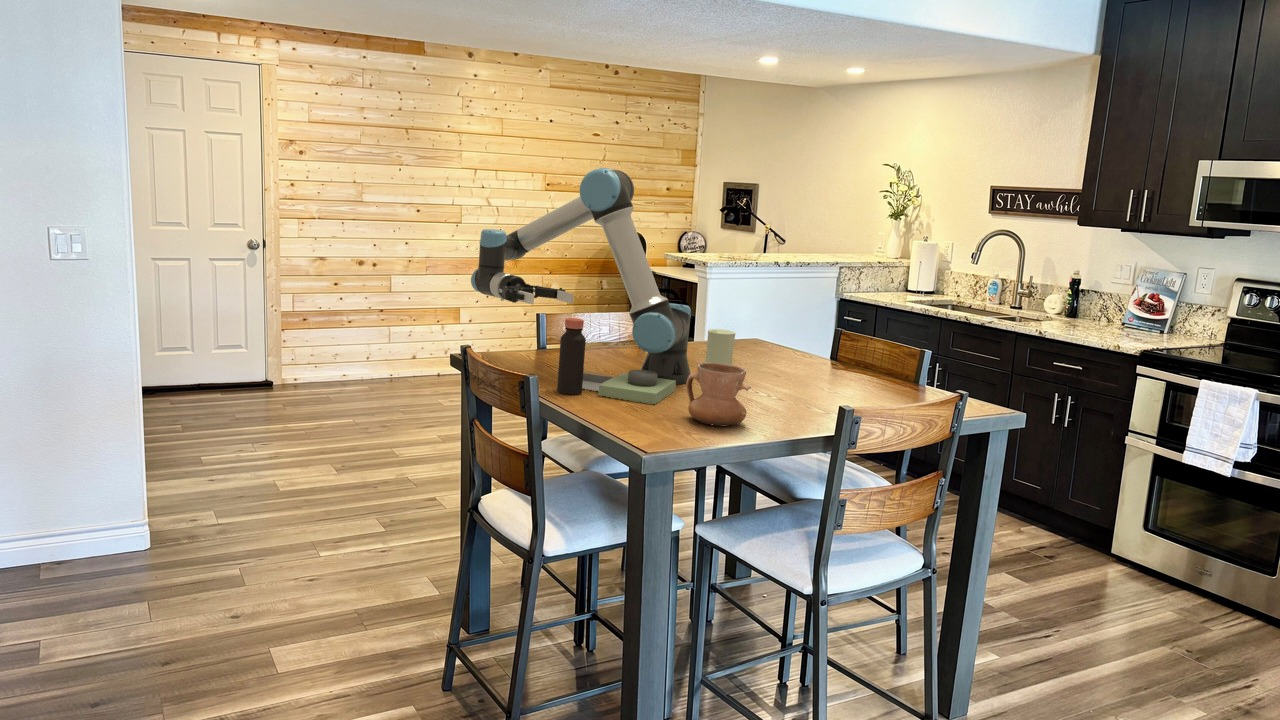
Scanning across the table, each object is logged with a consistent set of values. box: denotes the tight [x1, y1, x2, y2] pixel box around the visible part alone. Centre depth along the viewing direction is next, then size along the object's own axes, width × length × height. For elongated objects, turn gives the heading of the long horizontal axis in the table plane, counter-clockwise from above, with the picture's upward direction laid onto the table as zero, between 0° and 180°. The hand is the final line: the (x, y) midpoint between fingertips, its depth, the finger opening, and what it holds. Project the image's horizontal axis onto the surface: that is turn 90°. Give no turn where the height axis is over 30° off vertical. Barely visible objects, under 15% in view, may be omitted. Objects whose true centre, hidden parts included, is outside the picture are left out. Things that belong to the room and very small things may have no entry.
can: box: [704, 328, 736, 366], centre depth 306 cm, size 9×9×12 cm
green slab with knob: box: [582, 369, 677, 405], centre depth 257 cm, size 20×28×6 cm
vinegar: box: [556, 317, 587, 396], centre depth 248 cm, size 7×7×20 cm
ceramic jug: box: [685, 362, 752, 426], centre depth 231 cm, size 18×14×14 cm
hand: (553, 299), depth 253 cm, fingers open, 13 cm apart
